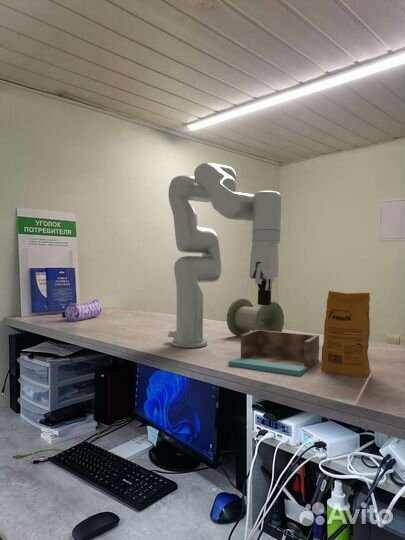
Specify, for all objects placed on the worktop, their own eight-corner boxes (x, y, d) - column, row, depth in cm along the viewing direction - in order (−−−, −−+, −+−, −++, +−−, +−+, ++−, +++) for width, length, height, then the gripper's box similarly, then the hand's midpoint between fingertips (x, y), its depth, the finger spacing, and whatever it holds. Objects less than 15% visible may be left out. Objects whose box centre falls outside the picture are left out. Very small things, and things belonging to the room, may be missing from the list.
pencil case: (78, 322, 195) (78, 303, 195) (62, 321, 198) (62, 302, 198) (102, 317, 216) (103, 299, 216) (88, 316, 219) (88, 298, 219)
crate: (240, 362, 119) (240, 335, 119) (255, 354, 129) (255, 329, 129) (308, 371, 109) (308, 342, 109) (318, 362, 120) (319, 335, 119)
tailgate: (239, 362, 118) (228, 365, 111) (239, 357, 118) (228, 361, 111) (307, 371, 108) (299, 375, 102) (307, 367, 108) (300, 371, 102)
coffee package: (327, 366, 115) (328, 289, 115) (373, 373, 108) (375, 291, 108) (316, 374, 107) (317, 291, 106) (365, 382, 100) (367, 293, 99)
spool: (226, 337, 160) (226, 299, 159) (252, 333, 169) (252, 298, 169) (258, 343, 147) (258, 303, 147) (283, 339, 157) (284, 300, 157)
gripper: (263, 239, 118) (261, 301, 118) (242, 236, 105) (240, 306, 105) (288, 238, 114) (286, 303, 114) (269, 235, 101) (267, 308, 101)
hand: (264, 304), depth 110 cm, fingers closed
